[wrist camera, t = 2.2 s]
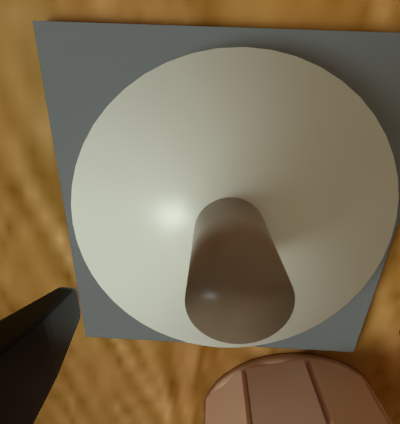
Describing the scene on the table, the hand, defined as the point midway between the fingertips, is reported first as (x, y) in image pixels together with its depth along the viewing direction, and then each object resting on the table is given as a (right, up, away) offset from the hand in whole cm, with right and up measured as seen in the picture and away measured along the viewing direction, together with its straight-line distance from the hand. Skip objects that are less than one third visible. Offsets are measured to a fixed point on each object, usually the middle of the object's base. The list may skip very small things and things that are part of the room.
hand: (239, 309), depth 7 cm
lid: (0, +2, +5) cm, 5 cm away
